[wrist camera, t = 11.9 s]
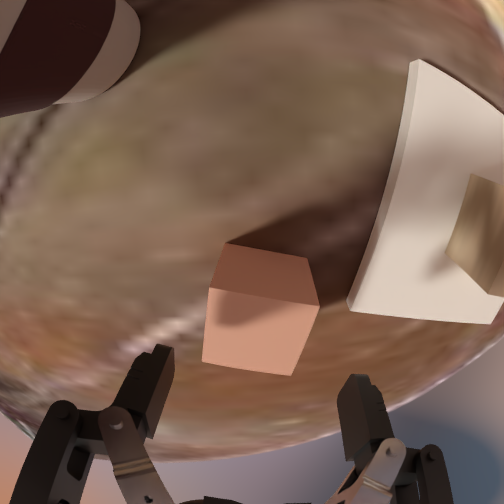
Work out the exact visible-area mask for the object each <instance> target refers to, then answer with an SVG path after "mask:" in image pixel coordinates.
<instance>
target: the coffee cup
mask: <svg viewBox="0 0 504 504" xmlns="http://www.w3.org/2000/svg"><path fill="white" fill-rule="evenodd" d="M140 29H141V28H140V22H139V18H138V16H137V14H136V12H135V11H134V9H133V8H132V7H131V6H130V5H129V4H128V3H127V2H125V1H124V0H0V118H1V117H5V116H10V115H14V114H19V113H24V112H30V111H35V110H39V109H43V108H45V107H48V106H50V105H51V104H59V103H69V102H81V101H85V100H89V99H91V98H93V97H96V96H98V95H100V94H101V93H103V92H104V91H106V90H107V89H108V88H110V87H111V86H112V85H113V84H114V83H115V82H116V81H117V80H118V79H119V78H120V77H121V76H122V74H123V73H124V72H125V70H126V69H127V68H128V66H129V64H130V63H131V61H132V59H133V57H134V55H135V53H136V50H137V47H138V44H139V39H140Z"/></svg>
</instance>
